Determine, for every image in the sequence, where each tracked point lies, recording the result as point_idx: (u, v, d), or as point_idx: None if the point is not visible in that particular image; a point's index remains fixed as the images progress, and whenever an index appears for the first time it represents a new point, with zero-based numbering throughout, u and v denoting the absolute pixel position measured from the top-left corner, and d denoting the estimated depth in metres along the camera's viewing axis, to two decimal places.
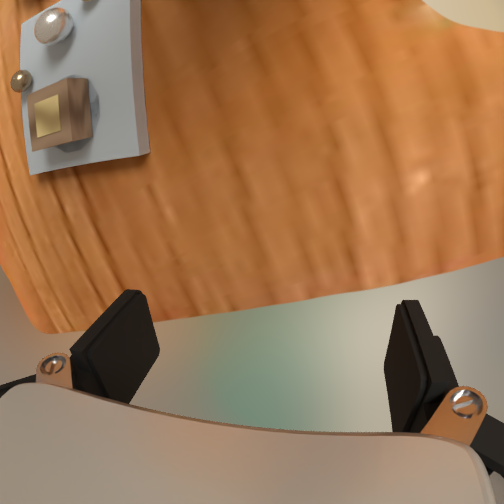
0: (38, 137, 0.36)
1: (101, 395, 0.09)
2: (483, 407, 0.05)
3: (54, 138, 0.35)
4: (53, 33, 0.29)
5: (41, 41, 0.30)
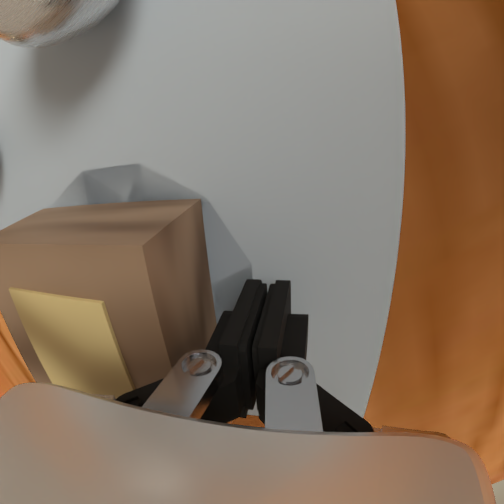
0: (54, 381, 0.12)
1: (242, 391, 0.09)
2: (308, 368, 0.08)
3: None
4: None
5: (3, 33, 0.06)
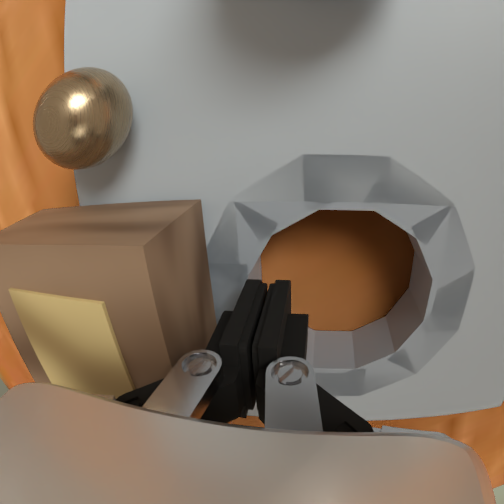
0: (54, 382, 0.12)
1: (242, 391, 0.09)
2: (308, 368, 0.08)
3: None
4: None
5: None
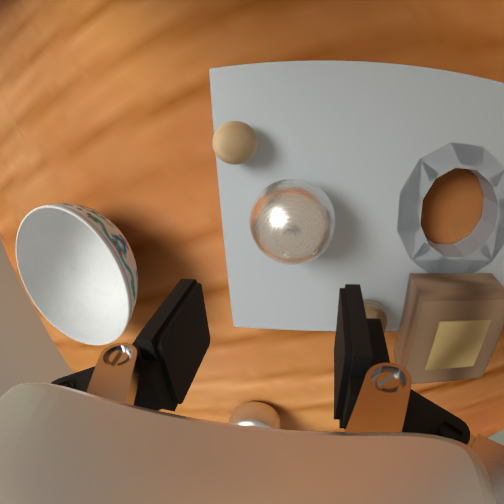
0: (472, 364, 0.22)
1: (164, 385, 0.09)
2: (407, 378, 0.07)
3: (492, 332, 0.21)
4: (322, 205, 0.20)
5: (326, 243, 0.21)
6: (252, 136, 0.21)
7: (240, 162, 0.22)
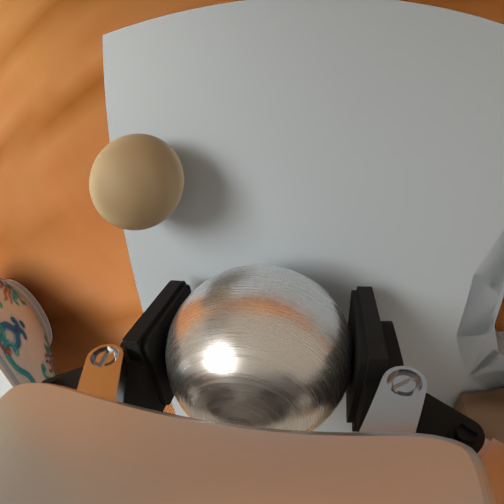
0: None
1: (151, 386, 0.09)
2: (423, 383, 0.07)
3: None
4: (325, 353, 0.08)
5: (328, 416, 0.09)
6: (163, 168, 0.09)
7: (145, 227, 0.10)
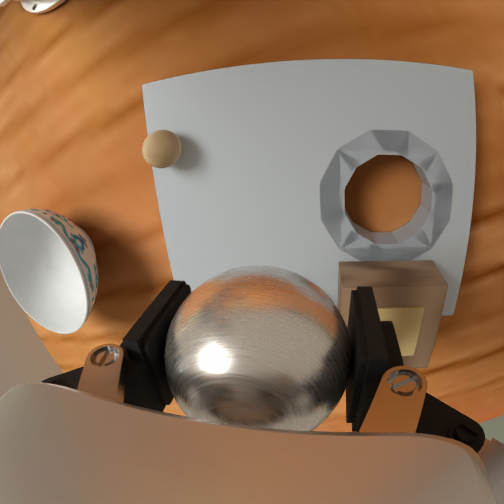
0: (412, 353, 0.25)
1: (151, 386, 0.09)
2: (423, 383, 0.07)
3: (430, 321, 0.23)
4: (323, 354, 0.08)
5: (326, 416, 0.09)
6: (173, 142, 0.24)
7: (165, 166, 0.25)
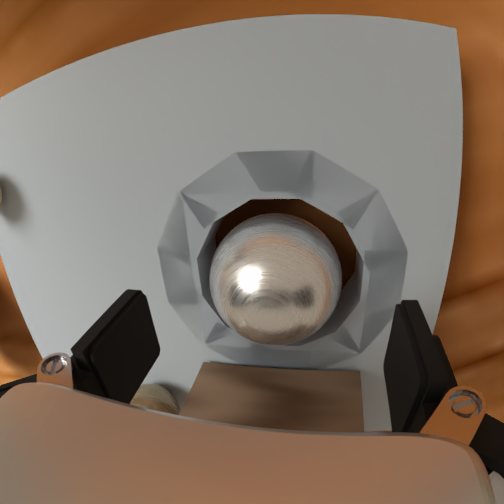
0: None
1: (102, 395, 0.09)
2: (482, 407, 0.05)
3: None
4: (321, 263, 0.12)
5: (326, 317, 0.13)
6: None
7: None
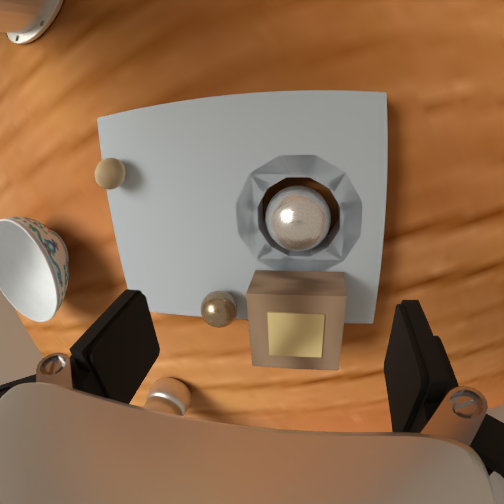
0: (321, 355, 0.29)
1: (101, 395, 0.09)
2: (483, 408, 0.05)
3: (332, 327, 0.28)
4: (320, 206, 0.27)
5: (324, 234, 0.28)
6: (117, 169, 0.28)
7: (112, 188, 0.29)
